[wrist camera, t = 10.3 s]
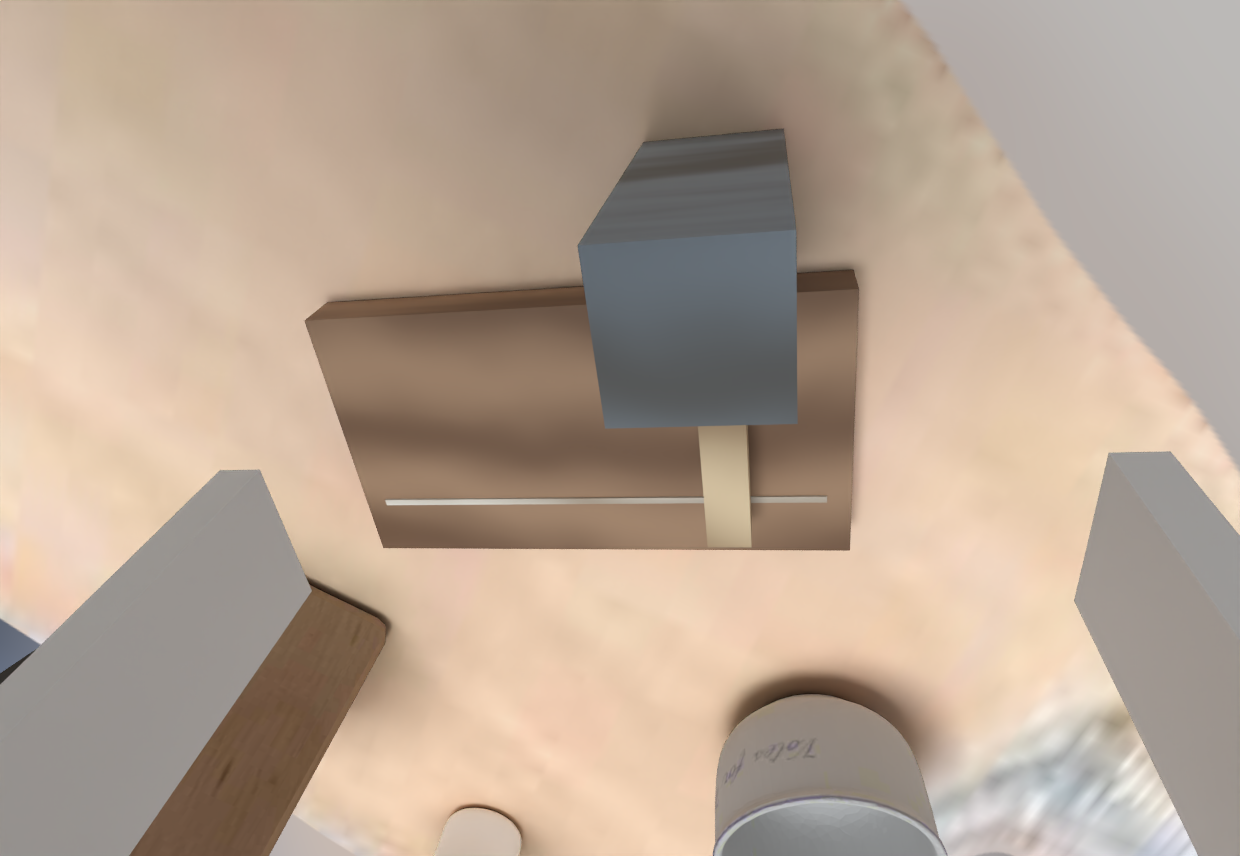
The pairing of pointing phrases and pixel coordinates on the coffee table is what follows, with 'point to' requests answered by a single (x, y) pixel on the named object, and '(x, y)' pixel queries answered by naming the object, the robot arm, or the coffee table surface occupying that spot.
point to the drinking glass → (479, 835)
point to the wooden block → (270, 737)
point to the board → (568, 428)
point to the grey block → (699, 304)
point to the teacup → (821, 785)
